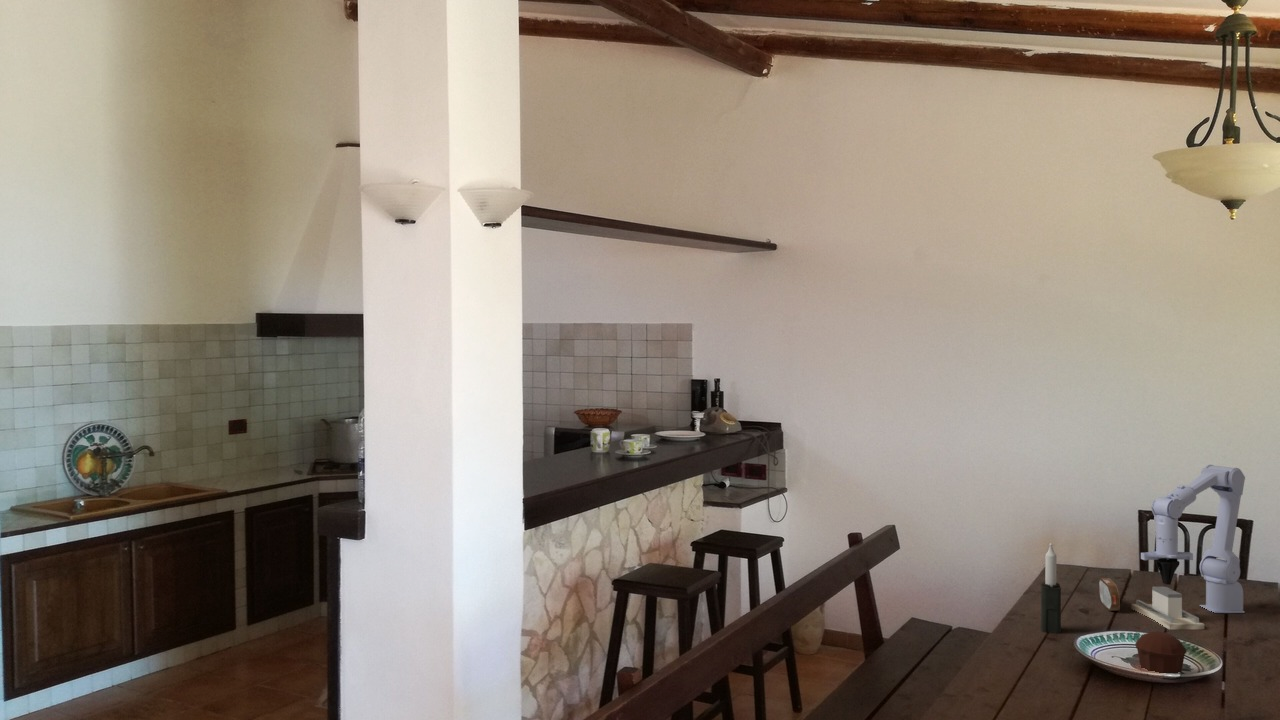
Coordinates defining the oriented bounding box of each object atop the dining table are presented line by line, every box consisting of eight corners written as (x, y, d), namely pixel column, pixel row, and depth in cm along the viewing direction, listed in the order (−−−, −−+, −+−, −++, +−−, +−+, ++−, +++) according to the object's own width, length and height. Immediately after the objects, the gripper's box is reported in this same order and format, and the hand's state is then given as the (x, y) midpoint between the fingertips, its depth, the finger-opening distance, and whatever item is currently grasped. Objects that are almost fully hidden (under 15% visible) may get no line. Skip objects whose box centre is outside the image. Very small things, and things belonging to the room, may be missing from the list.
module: (1165, 609, 300) (1165, 586, 300) (1181, 618, 291) (1181, 594, 291) (1152, 609, 300) (1152, 586, 300) (1168, 618, 291) (1168, 594, 291)
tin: (1121, 614, 301) (1121, 586, 301) (1109, 613, 301) (1109, 586, 301) (1108, 601, 316) (1108, 575, 315) (1097, 601, 316) (1097, 574, 316)
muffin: (1126, 665, 254) (1127, 626, 253) (1171, 665, 253) (1171, 626, 253) (1149, 681, 242) (1149, 640, 242) (1195, 681, 241) (1195, 640, 241)
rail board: (1163, 608, 307) (1163, 598, 306) (1204, 629, 285) (1204, 618, 284) (1131, 608, 307) (1131, 599, 306) (1169, 629, 285) (1169, 619, 284)
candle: (1059, 628, 286) (1059, 542, 286) (1061, 633, 281) (1061, 545, 281) (1040, 627, 288) (1040, 541, 287) (1041, 632, 283) (1041, 544, 282)
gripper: (1149, 541, 291) (1149, 587, 291) (1198, 540, 291) (1198, 587, 291) (1137, 536, 298) (1137, 581, 298) (1185, 536, 298) (1185, 581, 298)
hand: (1166, 583), depth 295 cm, fingers closed
